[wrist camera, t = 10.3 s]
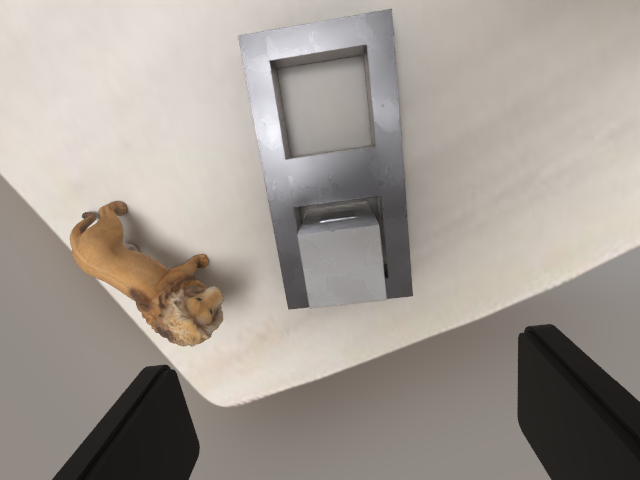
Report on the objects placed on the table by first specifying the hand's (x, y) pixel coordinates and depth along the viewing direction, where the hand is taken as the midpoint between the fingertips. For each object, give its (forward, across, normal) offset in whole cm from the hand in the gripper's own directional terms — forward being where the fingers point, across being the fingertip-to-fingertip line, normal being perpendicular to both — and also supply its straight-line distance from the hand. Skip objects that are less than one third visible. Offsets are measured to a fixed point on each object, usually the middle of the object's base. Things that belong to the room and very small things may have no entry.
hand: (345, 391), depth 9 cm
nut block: (+20, 0, +2) cm, 21 cm away
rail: (+20, 0, -4) cm, 21 cm away
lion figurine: (+21, +15, +1) cm, 25 cm away
